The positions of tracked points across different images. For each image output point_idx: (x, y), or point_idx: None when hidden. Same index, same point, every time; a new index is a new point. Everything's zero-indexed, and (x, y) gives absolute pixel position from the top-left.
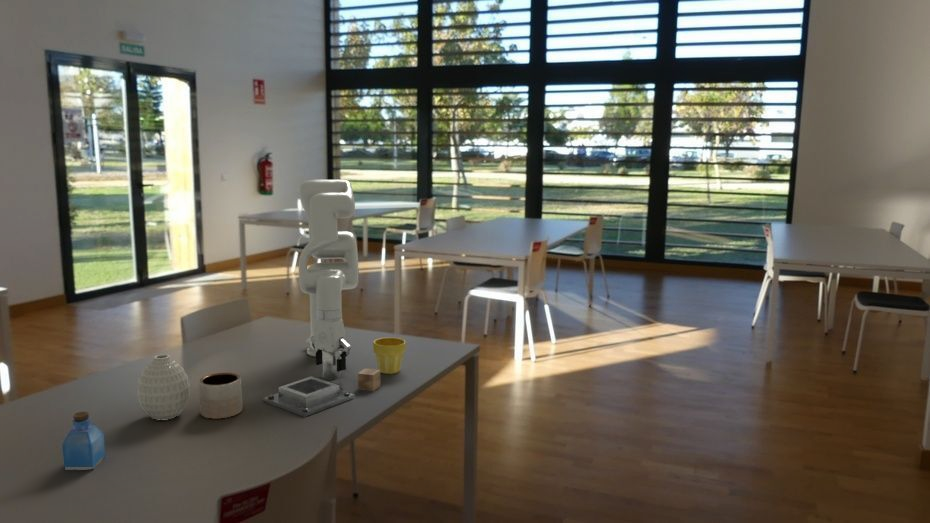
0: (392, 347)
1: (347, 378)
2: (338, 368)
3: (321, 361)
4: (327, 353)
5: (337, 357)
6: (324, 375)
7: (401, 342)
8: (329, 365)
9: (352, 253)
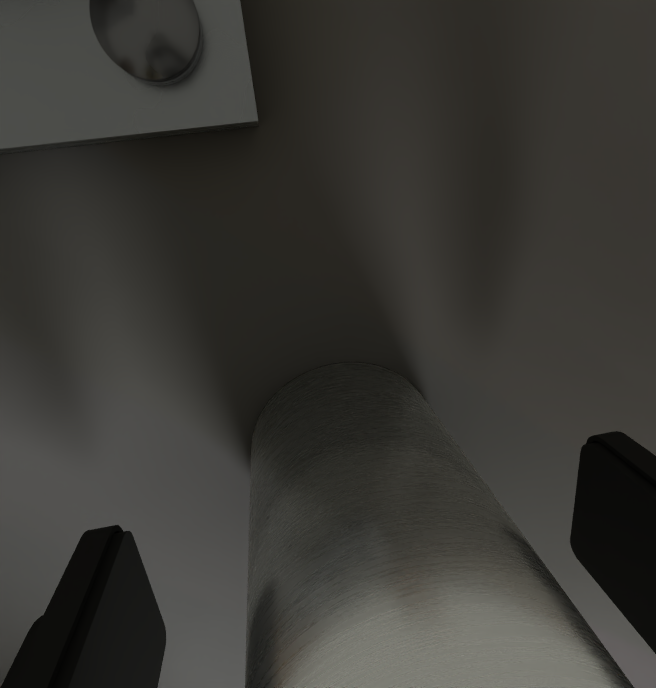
0: None
1: (174, 545)
2: (67, 575)
3: (600, 527)
4: None
5: None
6: (347, 380)
7: None
8: (286, 526)
9: None
